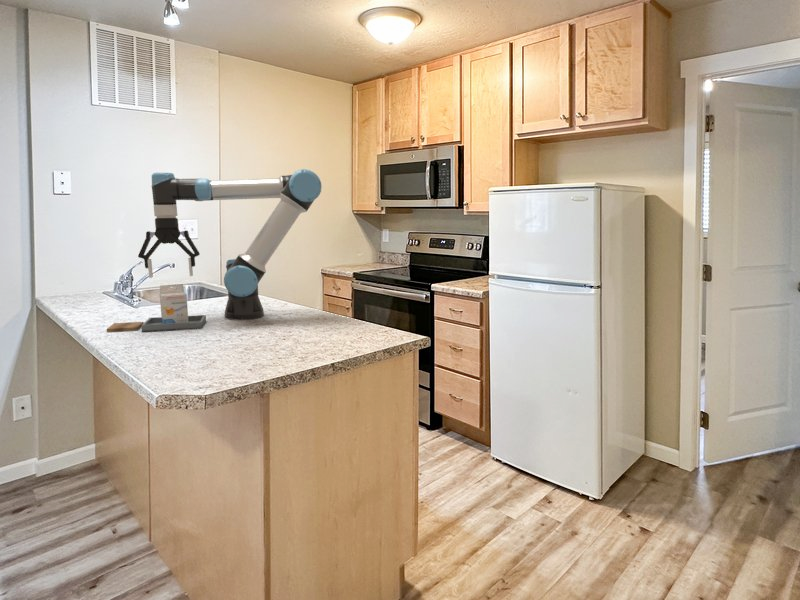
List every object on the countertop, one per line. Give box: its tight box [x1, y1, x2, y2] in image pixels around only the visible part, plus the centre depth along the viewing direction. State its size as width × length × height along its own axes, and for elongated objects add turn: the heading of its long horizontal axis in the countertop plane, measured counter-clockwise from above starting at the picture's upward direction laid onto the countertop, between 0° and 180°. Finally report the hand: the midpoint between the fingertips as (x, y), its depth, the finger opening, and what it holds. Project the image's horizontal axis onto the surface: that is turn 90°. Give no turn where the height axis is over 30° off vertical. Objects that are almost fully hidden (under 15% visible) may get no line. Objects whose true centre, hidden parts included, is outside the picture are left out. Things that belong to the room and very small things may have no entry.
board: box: [106, 321, 145, 333], centre depth 192 cm, size 10×10×1 cm
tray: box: [140, 314, 207, 333], centre depth 194 cm, size 20×14×2 cm
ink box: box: [159, 283, 189, 324], centre depth 193 cm, size 8×5×15 cm, turn 123°
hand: (171, 276), depth 192 cm, fingers open, 13 cm apart
